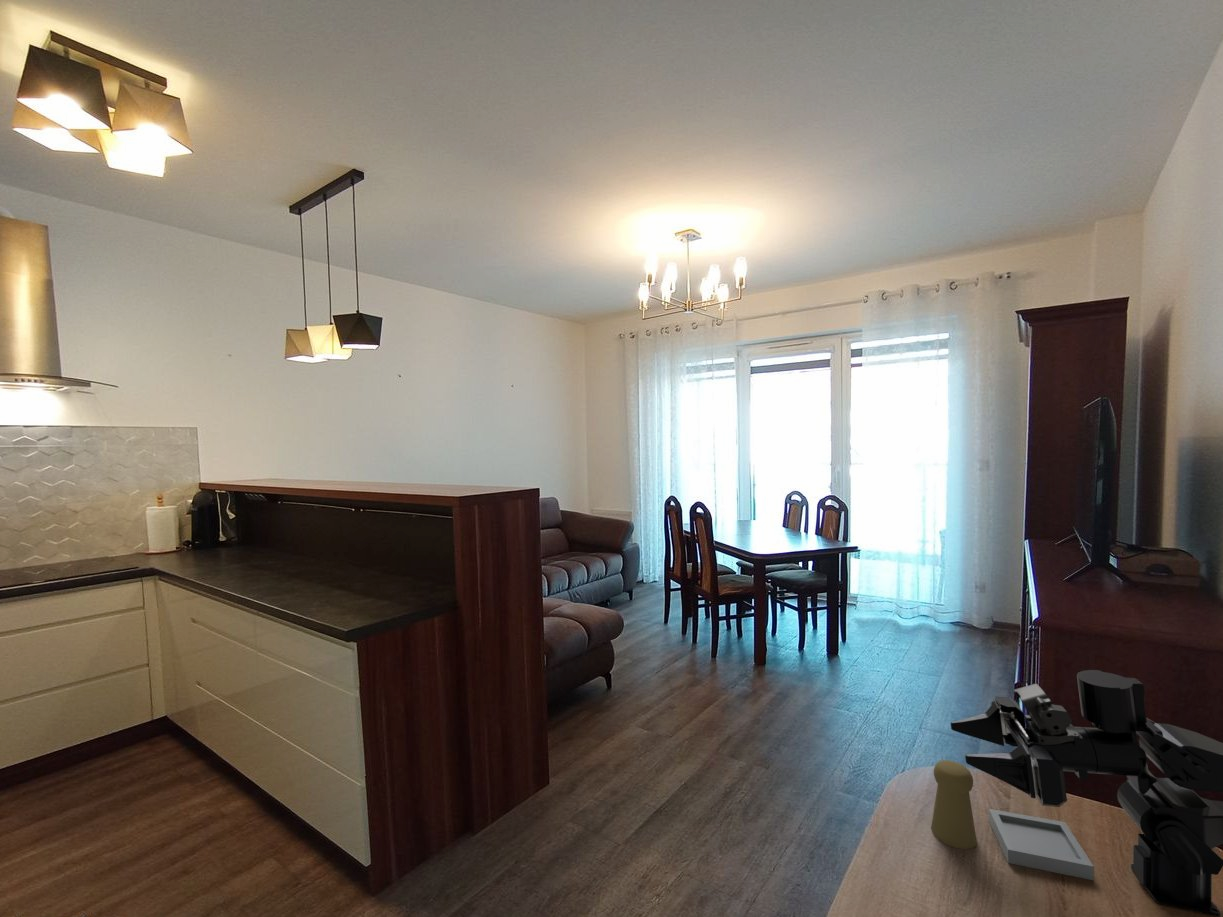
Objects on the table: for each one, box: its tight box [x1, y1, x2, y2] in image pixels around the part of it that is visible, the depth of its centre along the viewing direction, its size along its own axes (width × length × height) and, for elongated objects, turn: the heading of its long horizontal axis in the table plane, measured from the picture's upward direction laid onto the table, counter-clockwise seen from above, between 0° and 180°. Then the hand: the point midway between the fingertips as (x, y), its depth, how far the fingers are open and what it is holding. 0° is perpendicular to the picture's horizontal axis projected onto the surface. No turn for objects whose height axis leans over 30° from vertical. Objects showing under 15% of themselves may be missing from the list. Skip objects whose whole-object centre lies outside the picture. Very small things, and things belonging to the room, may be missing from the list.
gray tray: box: [988, 808, 1095, 881], centre depth 81 cm, size 10×9×2 cm
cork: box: [930, 759, 978, 850], centre depth 84 cm, size 6×6×11 cm
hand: (957, 741), depth 81 cm, fingers open, 9 cm apart
